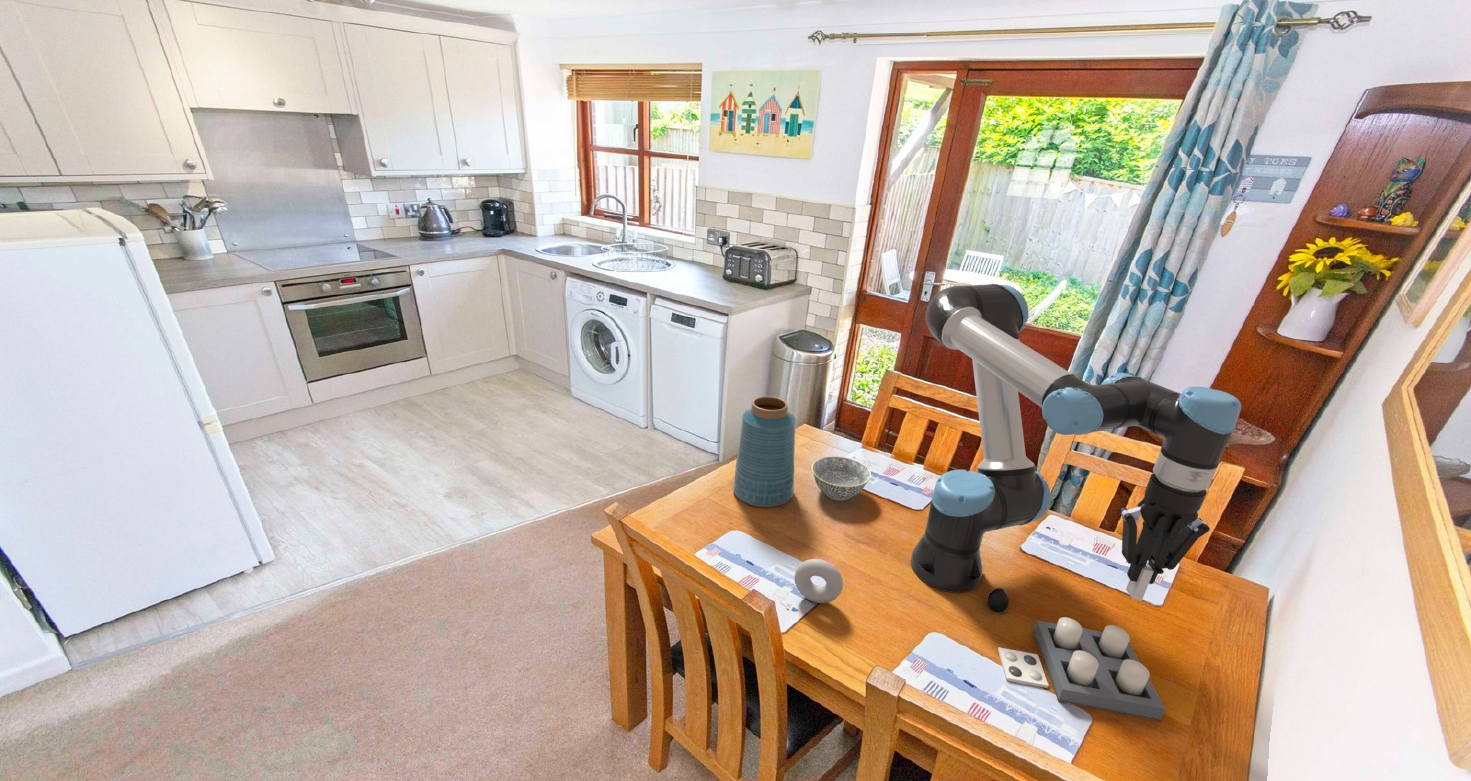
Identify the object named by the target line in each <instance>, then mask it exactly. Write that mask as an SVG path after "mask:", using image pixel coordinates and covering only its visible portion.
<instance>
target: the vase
mask: <svg viewBox="0 0 1471 781" xmlns="http://www.w3.org/2000/svg"><path fill="white" fill-rule="evenodd" d="M788 406H789V405H788V402H787V401H786V400H784V399H783V398H780V397H777V396H772V395H771V396H768V395H766V396H765V395H764V396H760V397H756V398H754V399H753V400H752V402H751V407H750V408H748V409H746V410H744V411H743V413H742V415H741V423H740V429H739V430H740V431H739V432H740V433H739V438H738V439H739V440H738V447H737V448H738V449H737V455H736V456H737V457H736V463H735V468H734V469H735V471H734V478H733V486H732V488H733V492H734V494H735V495H736V497H737V498H739V500H740V501H743V502H744V503H746V504H748V505H751V506H754V507H759V508H773V507H774V508H775V507H778V506H781V505H784V504H786V503H787V502H789V501H790V500H791V499H792V497H793V495H794V490H795V488H794V487H795V485H794V484H795V471H796V470H795V465H796V464H795V456H796V455H795V454H796V453H795V452H796V426H797V419H796V417H795V415H794V413H792V412H791V411H789V410H788V409H789V407H788Z"/></svg>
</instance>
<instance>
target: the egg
mask: <svg viewBox="0 0 1471 781" xmlns="http://www.w3.org/2000/svg"><path fill="white" fill-rule="evenodd" d="M986 602H987V603H986V604H987V606H988V609H990V611H992V612H994V613H995V614H1003V613H1004V612H1006V611H1007V609H1008V608H1009V605H1010V597H1009V594H1008V592H1007V591H1006V590H1005V589H1003V588H1000V587H996V588H995V589H994V588H993V589H992V590H991V591H990V592H989V593H988V595H987V599H986Z"/></svg>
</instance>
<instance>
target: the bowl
mask: <svg viewBox="0 0 1471 781" xmlns="http://www.w3.org/2000/svg"><path fill="white" fill-rule="evenodd" d="M810 469H811V473H812V474H813V477H814V481H815V484H816V486H817V487H818V488H819V490H820V491H821V492H823V494H825V495H826V497H828V498H829V499H832V500H834V501H839V502H840V501H841V502H842V501H843V502H844V501H848V500H849V499H850V498H851V499H852V498H854V497H855V496H857V495H858V494H860V493H862V491H863V489H864V488H865V486H866V485H867V483H868V482H870V480H871V478H872V473H871V470H870V469H869V468H868V466H866V465H865V464H864V463H863V462H861V461H858V460H856V459H853V458H849V457H845V456H834V455H831V456H830V455H829V456H824V457H821V458H818V459H816V460H815V461H814V462H813V463H812V465H811V468H810Z"/></svg>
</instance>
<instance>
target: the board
mask: <svg viewBox="0 0 1471 781" xmlns="http://www.w3.org/2000/svg"><path fill="white" fill-rule="evenodd" d="M1057 624H1058V623H1055V622H1054V623H1053V622H1048V621H1042V620H1036V622H1035V625H1034V629H1033V631H1032V632H1033V635H1034V638H1035V642H1036V644H1037V646H1038V650H1039V652H1040V655H1041V658H1042V660H1043V662H1044V666H1045V668H1046V671H1047V675H1048V677H1049V680H1050V683H1051V686H1052V689H1053V691H1054V694H1055V697H1056V699H1057V702H1059V703H1064V704H1069V705H1073V706H1074V705H1075V706H1079V707H1084V708H1089V709H1094V710H1101V711H1104V712H1105V711H1106V712H1110V713H1115V714H1120V715H1125V716H1130V717H1134V718H1136V717H1137V718H1140V719H1146V720H1151V721H1155V722H1161V719H1162V718H1163V715H1164V713H1165V711H1166V707H1165V705H1164V703H1163V701H1162V699H1161V698H1160V696H1159V694H1158V692H1157V690H1156V689H1155V686H1154V685H1153V683H1152V681H1151V679H1150V677H1149V678H1148V681H1147V683H1146V685H1145V687H1144V689H1143V692H1142V694H1141V695H1138V696H1134V695H1130V694H1128V693H1126V692H1124V691H1123V690H1121V689H1120V688H1119V687H1118V685H1117V684H1116V681H1115V679H1116V677H1117V674H1118V672H1119V670H1120V667H1121V665H1122V662H1123V661H1124V660H1126V659H1130V660H1134V661H1137V662H1139V663H1141V661H1140V660H1139V657H1138V655H1137V654H1136V653H1135V652H1136V651H1135V650H1134V649H1133V646H1132V645H1131V643H1130V641H1129V642H1128V645H1127V647H1126V650H1125V652H1124V654H1123V657H1122V658H1112V657H1110V656H1108V655H1106V654H1104V653H1103V652H1102V651H1101V650H1100V648H1099V646H1098V644H1099V641H1100V639H1101V636H1102V634H1103V631H1098V630H1094V629H1089V628H1083V627H1082V629H1083V631H1082V634H1081V636H1080V639H1079V642H1078V644H1077V647H1076V649H1074V650H1067V649H1064V648H1062V647H1060V646H1059V645H1057V644H1056V643H1055V641H1054V639H1053V635H1054V633H1055V630H1056V627H1057ZM1077 650H1081V651H1085V652H1087V653H1089V654H1091V655H1092V656H1094V657H1095V658H1096V659H1097V661H1098V663H1099V667H1098V669H1097V672H1096V674H1095V677H1094V679H1093V682H1092V684H1091V685H1089V686H1082V685H1079V684H1077V683H1075V682H1074V681H1072V680H1071V679H1070V678H1069V676H1068V675H1067V668H1068V666H1069V663H1070V660H1071V658H1072V655H1073V653H1074V652H1075V651H1077Z"/></svg>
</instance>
